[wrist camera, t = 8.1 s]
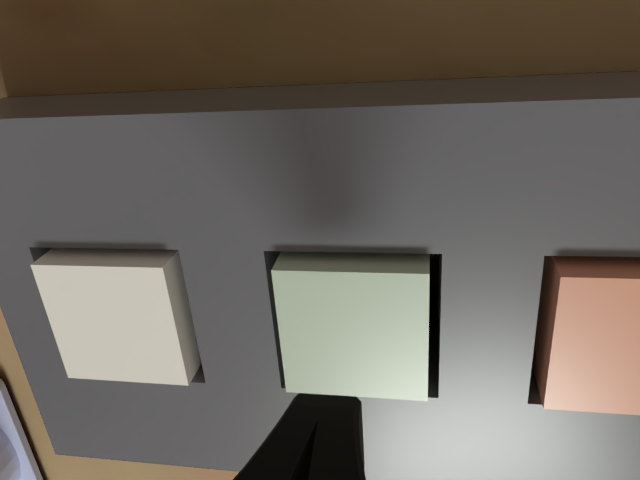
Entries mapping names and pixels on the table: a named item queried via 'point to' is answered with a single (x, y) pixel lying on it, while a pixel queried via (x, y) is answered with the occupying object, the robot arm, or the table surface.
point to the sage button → (354, 323)
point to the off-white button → (119, 314)
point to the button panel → (330, 236)
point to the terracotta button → (589, 334)
